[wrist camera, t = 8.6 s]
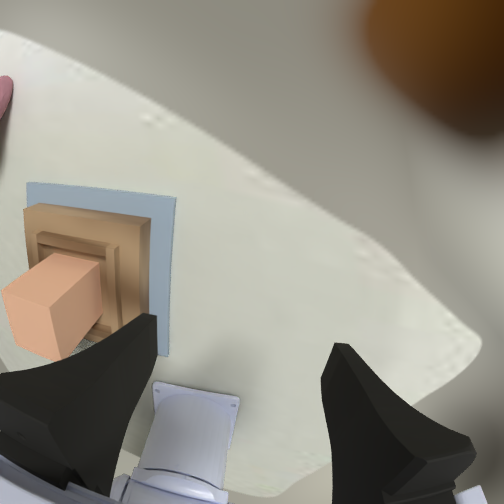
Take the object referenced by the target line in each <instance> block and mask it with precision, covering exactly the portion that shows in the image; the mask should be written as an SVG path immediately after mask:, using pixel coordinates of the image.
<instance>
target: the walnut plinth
mask: <svg viewBox="0 0 504 504" xmlns="http://www.w3.org/2000/svg"><path fill="white" fill-rule="evenodd" d="M23 211H24V226H25V238H26V247H27V255H28V263H29V270H30V269H31V268H33V267H34V266H35V265H37V264H38V263H40V262H41V261H43V260H44V259H46V258H47V257H49V256H50V255H52V254H53V253H57V254H62V255H66V256H71V257H75V258H80V259H85V260H89V261H94V262H99V269H100V285H101V297H102V308H103V314H102V315H101V316H100V317H99V319H98V320H97V321H96V322H95V324H94V325H93V326H92V327H91V329H90V330H89V331H88V332H87V334H86V335H85V336H84V337H83V338H84V339H87V340H90V341H94V342H97V343H98V342H100V341H101V340H103V339H105V338H106V337H108V336H110V335H111V334H113V333H114V332H116V331H117V330H119V329H120V328H122V327H123V326H124V325H126V324H127V323H129V322H130V321H132V320H133V319H134V318H136V317H137V316H139V315H140V314H142V313H147V314H149V262H150V233H151V218H148V217H141V216H134V215H127V214H120V213H113V212H106V211H98V210H91V209H84V208H76V207H69V206H61V205H53V204H46V203H37V204H35V205H32V206H30V207H27V208H25V209H23Z"/></svg>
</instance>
